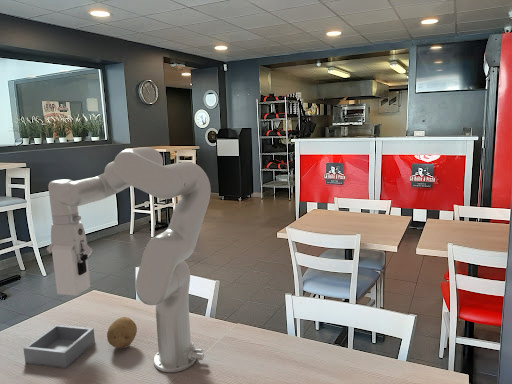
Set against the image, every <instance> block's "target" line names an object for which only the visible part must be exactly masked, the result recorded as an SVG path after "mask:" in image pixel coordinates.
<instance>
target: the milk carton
mask: <svg viewBox="0 0 512 384" xmlns="http://www.w3.org/2000/svg"><path fill="white" fill-rule="evenodd" d="M72 248H73V246H57V245H54V246H53V248H52V256H53V257H52V256H51V257H52V262H53V270H54V271H53V272H54V278H55V279H54V280H55V287H56V294H57V295H61V296H76V297H77V296H78V295H80V294H81V293H83V292H84V291H86V290H87V289H90V288H91V280H90V279H91V278H90V270H89V259H87V260H86V270H87V271H86V272H85V273H84V274H82V275H79V274H78V266H77V263H79V262H78V260H77V255H75V252H74V249H72ZM81 249H82V250H83V252H84V253H86V251H84V249H83V248H81ZM80 252H81V250H80ZM80 256H81V254H80ZM81 258H82V256H81Z"/></svg>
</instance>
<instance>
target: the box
mask: <svg viewBox="0 0 512 384" xmlns="http://www.w3.org/2000/svg"><path fill="white" fill-rule="evenodd" d="M95 343H96V339H95V330H94V328H93V327H85V326H74V325H64V324H54V325H53V326H52V327H50V328H49V329H48V330H46V331H45V332H44V333H42V334H41V335H40V336H38V337H37V338H36V339H34V340H33V341H31V342H29V344H27V345H26V346H24V347H23V355H24V361H25V364H29V365H37V366H45V367H52V368H59V369H68V368H69V367H70V366H71V365H72V364H73V363H75V361H76V360H78V359H79V358H80V357H81V356H82V355H83V354H84V353H85V352H86V351H87V350H88V349H90V348H91V347H92V346H93V345H94V344H95Z"/></svg>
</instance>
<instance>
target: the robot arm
mask: <svg viewBox="0 0 512 384" xmlns="http://www.w3.org/2000/svg"><path fill="white" fill-rule="evenodd" d="M131 187H133V188H136V189H137V190H140V191H141V192H144V193H146V194H148V195H150V196H153V197H155V198H157V199H162V200H170V199H174V198H176V197H179V196H180V198H179V200H178V201H177V203H176V205H175V207H174V210H173V211H172V215H171V219H170V222H169V225H168V227H167V228H166V230H165V231H163V232H160V233H158V234H157V235H155V236H153V237H152V238H151V239H150V240H149V241H148V242H147V244H146V246H145V248H144V250H143V254H142V257H141V261H140V265H139V269H138V271H137V275H136V279H135V293H136V295H137V298H138V299H139V300H140V301H141V302H142V303H143V304H144V305H147V306H155V319H156V320H155V321H156V333H157V334H156V336H157V346H158V347H157V349H158V351H157V352H156V354H155V355H154V357H153V365H154V367H155V368H156V369H158V370H159V371H161V372H164V373H165V372H166V373H177V372H181V371H184V370H187V369H189V368H191V366H192V365H194V364H195V363H196V361H203V360H204V357H205V353H204V352H203V351H204V349H203V348H196V347H195V343H194V342H192V341H191V325H190V324H191V323H190V322H191V320H190V308H189V305H190V303H189V301H190V300H189V299H190V298H189V295H190V294H189V291H190V283H191V271H190V267H189V265H188V263H187V262H186V261H185V260H187V259H189V257H191V255H192V254H193V253H194V252H195V249H196V247H197V242H198V239H199V236H200V234H201V233H200V232H201V229H202V226H203V222H204V219H205V215H206V213H207V210H208V207H209V203H210V198H211V190H212V189H211V183H210V179H209V177H208V175H207V173H206V172H205V171H204V169H203V168H202V167H201V166H200V165H198V164H196V163H195V162H190V161H181V162H176V163H172V164H166V165H164V160H163V155H162V154H161V153H160V151H158V150H157V149H155V148H153V147H149V146H143V147H133V148H127V149H124V150H121V151H120V152H119V153H117V155H115V158H114V160H113V161H111V162H109V163H108V164H106V165H105V167H104V172H103V173H101V174H99V175H97V176H94V177H88V178H83V179H78V180H72V179H67V178H66V179H56V180H51V181H50V182H49V183H48V187H47V188H48V195H49V197H48V198H49V203H50V204H49V205H50V214H51V219H52V224H51V226H50V227H51V228H50V242H51V243H50V244H49V245H48V246H47V247H46V251H47V253H49V254H50V255H49V256H50V257H52V258H53V256H52V248H53V246H54V245H57V246H73V248H72V249H74V252H75V255H77V260H78V262H79V263H77V266H78V274H79V275H82V274H84V273H85V272H86V271H87V270H86V260H87V259H88V258H89V257H90V256H91V254H92V253H93V251H94V249H93V248H91V247H90V246H89V245H88V240H87V236H86V232H85V227H84V225H83V223H82V221H81V220H82V216H81V215H79V207H80V206H84V205H88V204H92V203H95V202H98V201H101V200H105V199H107V198H109V197H111V196H113V195H116V194H118V193H120V192H122V191H124V190H125V189H127V188H131ZM81 248H83V249H84V251H86V253H84V252H83V250H82V249H81ZM80 250H81V252H80ZM80 254H81V256H82V258H81V256H80ZM88 260H89V259H88Z"/></svg>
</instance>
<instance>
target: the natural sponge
mask: <svg viewBox="0 0 512 384" xmlns="http://www.w3.org/2000/svg"><path fill="white" fill-rule="evenodd" d="M137 331H138V328H137V324H136V322H135V321H134V320H133V319H131V318H129V317H126V316H123V317H120V318H117V319H116V320H115V321H113V322H112V323H111V324H110V326H108V329H107V333H106V337H107V342H108V343H109V345H110V346H112V347H115V348H120V349H125V348H128V347H129V346H130V345H131V344H132V343H133V341H134V340H135V338H136V336H137Z"/></svg>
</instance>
